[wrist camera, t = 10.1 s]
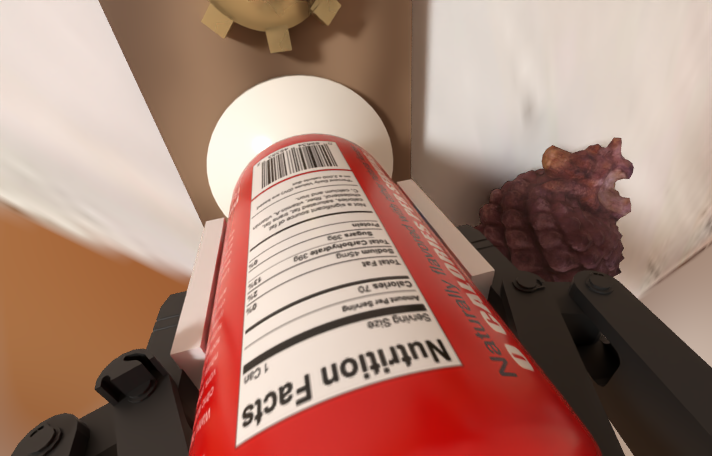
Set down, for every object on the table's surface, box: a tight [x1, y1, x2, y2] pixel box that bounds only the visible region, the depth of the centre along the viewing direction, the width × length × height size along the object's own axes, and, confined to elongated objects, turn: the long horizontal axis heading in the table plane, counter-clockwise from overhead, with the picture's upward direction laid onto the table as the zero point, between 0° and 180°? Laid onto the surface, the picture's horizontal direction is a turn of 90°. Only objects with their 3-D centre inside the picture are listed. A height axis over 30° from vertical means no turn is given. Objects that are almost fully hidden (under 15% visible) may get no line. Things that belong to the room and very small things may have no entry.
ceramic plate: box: [207, 74, 393, 218], centre depth 19 cm, size 11×11×1 cm
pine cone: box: [474, 138, 634, 282], centre depth 24 cm, size 18×10×10 cm, turn 177°
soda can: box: [189, 133, 602, 456], centre depth 10 cm, size 8×8×15 cm
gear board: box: [99, 0, 412, 227], centre depth 18 cm, size 14×22×2 cm, turn 7°
